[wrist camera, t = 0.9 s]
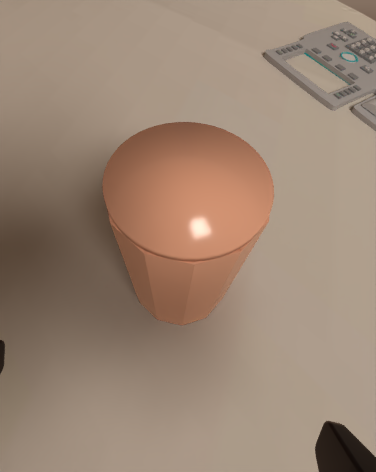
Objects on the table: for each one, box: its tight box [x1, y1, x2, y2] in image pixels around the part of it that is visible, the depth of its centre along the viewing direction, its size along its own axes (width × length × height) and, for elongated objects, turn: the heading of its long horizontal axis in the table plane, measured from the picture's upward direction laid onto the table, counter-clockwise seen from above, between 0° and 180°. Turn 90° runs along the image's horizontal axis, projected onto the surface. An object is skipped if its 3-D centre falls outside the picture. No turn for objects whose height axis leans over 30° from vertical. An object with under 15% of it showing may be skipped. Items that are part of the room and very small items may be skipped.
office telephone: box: [264, 22, 376, 131], centre depth 39 cm, size 23×3×20 cm
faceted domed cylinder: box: [102, 122, 274, 325], centre depth 17 cm, size 7×7×12 cm
